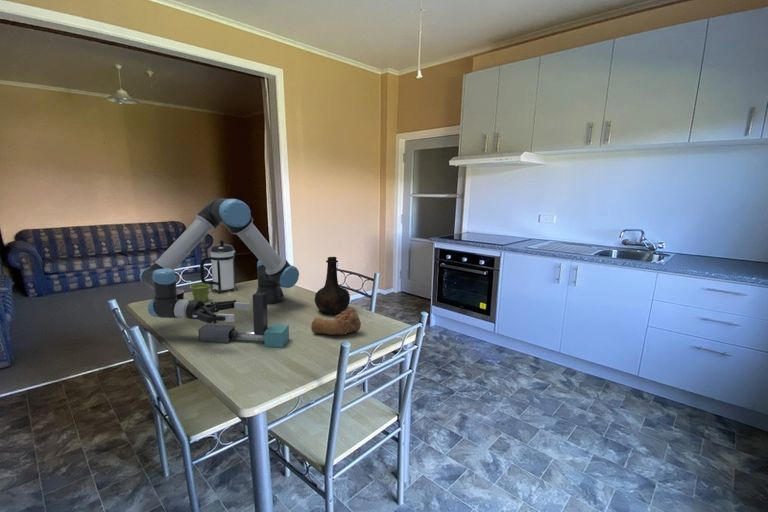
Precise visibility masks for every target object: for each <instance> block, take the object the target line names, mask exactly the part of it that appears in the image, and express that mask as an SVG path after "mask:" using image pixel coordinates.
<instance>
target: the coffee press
mask: <svg viewBox="0 0 768 512" xmlns="http://www.w3.org/2000/svg"><path fill="white" fill-rule="evenodd" d="M209 252H210V256H206V257H204V258H202V259H201V261H200V262H199V263H200V264H199V272H200V282H202V284H209V285H210V286H211V285H212V287H211V288H210V290H211V291H214V290H216V291H217V294H222V292H223V291H229V290H231V289H232V290H234V291H237V290H238V287H237V286H236V275H235V273H236V272H235V254H236V253H237V252H236V250H235V248H234V247H233V245H231V244H227V243H225V241H224V240H222V239H221V240H219V244H218V243H217V244H214V245H212V246H211V247H210V249H209ZM207 261H211V262H210V263H211V278H212V280H211V281H207V280H206V277H205V263H206V262H207Z"/></svg>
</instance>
